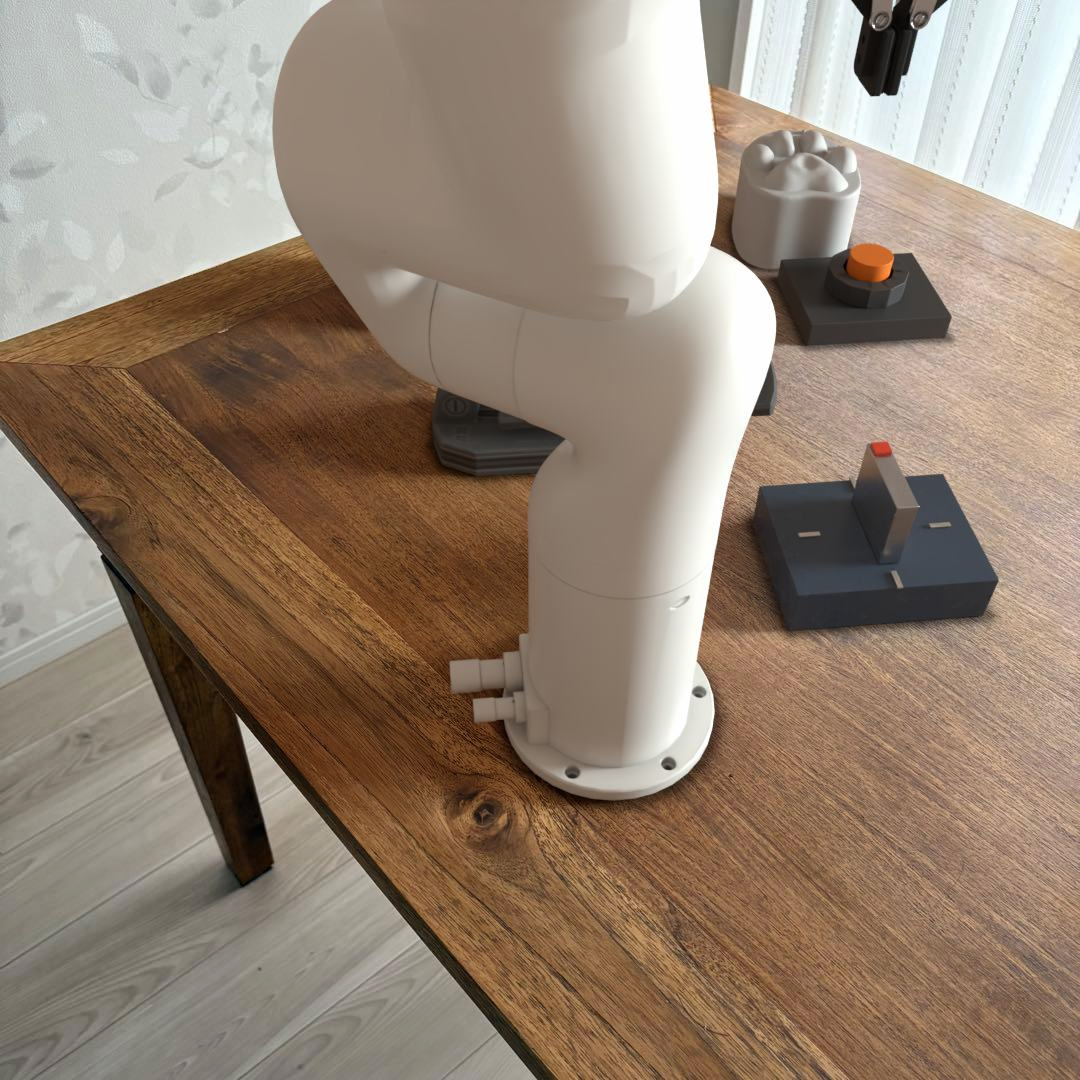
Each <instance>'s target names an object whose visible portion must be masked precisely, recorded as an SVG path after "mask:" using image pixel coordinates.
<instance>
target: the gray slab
mask: <svg viewBox="0 0 1080 1080" xmlns="http://www.w3.org/2000/svg"><path fill="white" fill-rule="evenodd" d="M904 476H905V475H904V473H903V470H902V469H901V467H900V464H899V462H898V461H897V458H896V457H895V454H894V452H893V449H892V448H891V446H890V444H889V442H888V441H875V442H874V441H871V442H870V443H867V444H866V447H865V450H864V454H863V458H862V461H861V464H860V468H859V470H858V475H857V479H856V480H857V482H856V485H855V489H854V492H853V496H852V502H853V504H854V507H855V509H856V511H857V514H858V516H859V519H860V521H861V523H862V526H863V528H864V530H865V533H866V535H867V537H868V540H869V542H870V544H871V547H872V549H873V551H874V554H875V556H876V558H877V561H878V563H879V564H886V563H899V562H900V560H901V557H902V554H903V551H904V548H905V545H906V542H907V539H908V537H909V534H910V531H911V528H912V525H913V522H914V519H915V516H916V514H917V511H918V508H919V506H918V504H917V502H916V500H915V498H914V496H913V494H912V491H911V489H910V487H909V485H908V483H907V481H906V479H905V477H904Z"/></svg>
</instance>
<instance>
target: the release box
mask: <svg viewBox="0 0 1080 1080" xmlns="http://www.w3.org/2000/svg"><path fill="white" fill-rule="evenodd" d="M851 249H852V248H847V249H846V250H844V251H842V252H839V253H837V254H835V255H833V257H822V258H803V259H784V260H781V263H780V268H779V269H778V274H777V279H776V281H777V283H778V285H779V288H780V290H781V292H782V294H783V297H784V299H785V301H786V303H787V305H788V307H789V309H790V312H791V314H792V316H793V319H794V320H795V323H796V325H797V327H798V329H799V332H800V334H801V336H802V338H803V340H804V342H805V345H806V346H808V347H814V346H828V345H845V344H864V343H865V344H866V343H882V342H896V341H898V342H899V341H912V340H913V341H914V340H915V341H916V340H932V339H945V338H946V337H947V334H948V331H949V329H950V328H949V327H950V324H951V321H952V318H953V316H952V314H951V312H950V311H949V309H948V307H947V306H946V304H945V303H944V301H943V300H942V298H941V296H940V295H939V293H938V292H937V290H936V288H935V287H934V286H933V284H932V282H931V280H930V279H929V277H928V276H927V275H926V273H925V271H924V269H923V268H922V266H921V265H920V263H919V261H918V260H917V258H916V257H915V255H914V254H913V252H900V253H899V252H897V253H893V256H894V260H893V263H892V267H891V271H890V275H889V278H888V279H887V280H886V281H884V282H873V283H868V282H864V281H860V280H856V279H854V278H853V277H851V276H849V275H848V274H847V272H846V267H847V263H848V259H849V254H850V251H851Z"/></svg>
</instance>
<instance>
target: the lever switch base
mask: <svg viewBox="0 0 1080 1080" xmlns="http://www.w3.org/2000/svg"><path fill="white" fill-rule="evenodd" d="M904 477H905V479H906V481H907V483H908V485H909V487H910V489H911V491H912V494H913V496H914V498H915V500H916V502H917V504H918V506H919V508H918V511H917V514H916V516H915V519H914V522H913V525H912V528H911V531H910V534H909V537H908V539H907V542H906V545H905V548H904V551H903V554H902V557H901V560H900V562H899V563H886V564H879V563H878V561H877V558H876V556H875V554H874V551H873V549H872V547H871V544H870V542H869V540H868V537H867V535H866V533H865V530H864V528H863V526H862V523H861V521H860V519H859V516H858V514H857V511H856V509H855V507H854V504H853V502H852V496H853V492H854V489H855V485H856V482H857V479H856V478H855V476H849V477H848V480H847V479H846V480H832V481H819V482H816V481H815V482H803V483H789V484H787V483H785V484H774V485H773V484H772V485H761V486H759V487H758V491H757V492H758V493H757V497H756V500H755V501H756V502H755V506H754V512H753V517H752V520H751V521H752V522H751V523H752V526H753V529H754V531H755V534H756V537H757V540H758V543H759V547H760V549H761V552H762V555H763V559H764V562H765V564H766V567H767V571H768V574H769V577H770V579H771V582H772V585H773V588H774V592H775V594H776V597H777V600H778V604H779V606H780V609H781V612H782V614H783V615H782V616H783V618H784V622H785V623H786V627H787V630H788V632H792V631H804V630H818V629H819V630H820V629H830V628H831V629H832V628H842V627H844V628H845V627H855V626H856V627H857V626H868V625H870V626H871V625H880V624H881V625H882V624H894V623H895V624H896V623H906V622H908V623H909V622H918V621H919V622H920V621H932V620H943V619H944V620H945V619H956V618H970V617H972V618H973V617H982V616H985V613H986V611H987V608H988V606H989V604H990V601H991V599H992V597H993V594H994V592H995V590H996V588H997V586H998V584H999V581H1000V579H999V577H998V574H997V573H996V572H995V570H994V568H993V565H992V564H991V562H990V560H989V557H988V556H987V554H986V551H985V550H984V548H983V547H982V545H981V543H980V541H979V539H978V537H977V535H976V533H975V532H974V530H973V528H972V526H971V524H970V522H969V520H968V518H967V516H966V515H965V512H964V510H963V509H962V507H961V505H960V503H959V501H958V500H957V497H956V496H955V494H954V492H953V490H952V487H951V486H950V484H949V483H948V480H947V478H946V477H945V475H944V474H943V473H936V474H933V473H932V474H920V475H906V476H905V475H904Z"/></svg>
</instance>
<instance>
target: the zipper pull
mask: <svg viewBox="0 0 1080 1080" xmlns="http://www.w3.org/2000/svg"><path fill="white" fill-rule="evenodd" d="M777 400H778V380H777V375H776V369H775V366H774V363H773V360H772V359H771V362H770V365H769V368H768V371H767V374H766V378H765V381H764V384H763V386H762V389H761V391H760V394H759V396H758V399H757V401H756V404H755V407H754V409H753V412H752V414H751V417H770V416H772V415H773V414H774V413H775V408H776V405H777V403H776V402H777ZM432 410H433V412H432V418H431V425H432V426H431V427H432V428H431V429H432V438H433V444H434V447H435V450H436V453H437V455H438V458H439V460H440V463H441V464H442V466H444V467H446V468H450V469H453V470H456V471H460V472H463V473H466V474H468V475H469V474H470V475H471V476H475V477H485V476H487V477H489V476H504V475H505V476H506V475H523V474H537V473H538V471H539V469H540V467H541V466H542V464H543V463H544V461H545V460H546V459H547V458H548V456H549V455H550V454H551V453H552V452H553V451H554V450H555V449H556V448H557V447H558V446H559V445H560V444H561V443H562V442H563V441H564V440H566V439H565V438H563V437H561V436H560V435H558V434H555V433H553V432H551V431H549V430H546V429H543V428H541V427H538V426H535V425H533V424H530V423H528V422H527V421H526V420H523V419H520V418H518V417H515V416H512V415H510V414H507V413H504V412H501V411H499V410H496V409H493V408H491V407H488V406H485V405H483V404H480V403H477V402H474V401H472V400H469V399H466V398H464V397H461V396H458V395H456V394H453V393H451V392H448V391H446V390H443V389H441V388H439V387H437V390H436V395H435V399H434V405H433V409H432Z"/></svg>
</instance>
